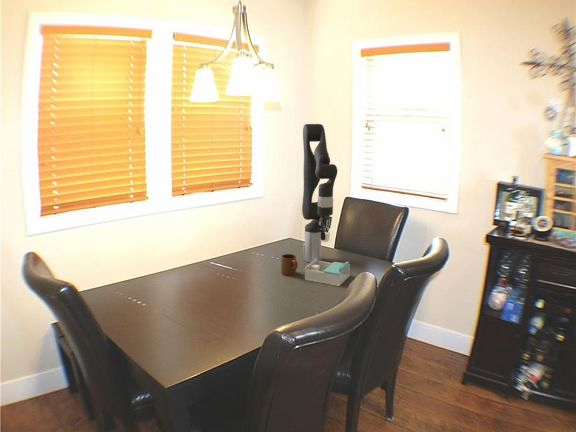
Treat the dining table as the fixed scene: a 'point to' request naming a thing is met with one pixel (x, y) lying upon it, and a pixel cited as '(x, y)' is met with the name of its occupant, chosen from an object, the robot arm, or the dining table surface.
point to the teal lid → (337, 268)
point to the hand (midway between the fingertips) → (324, 238)
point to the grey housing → (316, 273)
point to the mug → (288, 264)
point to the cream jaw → (325, 237)
